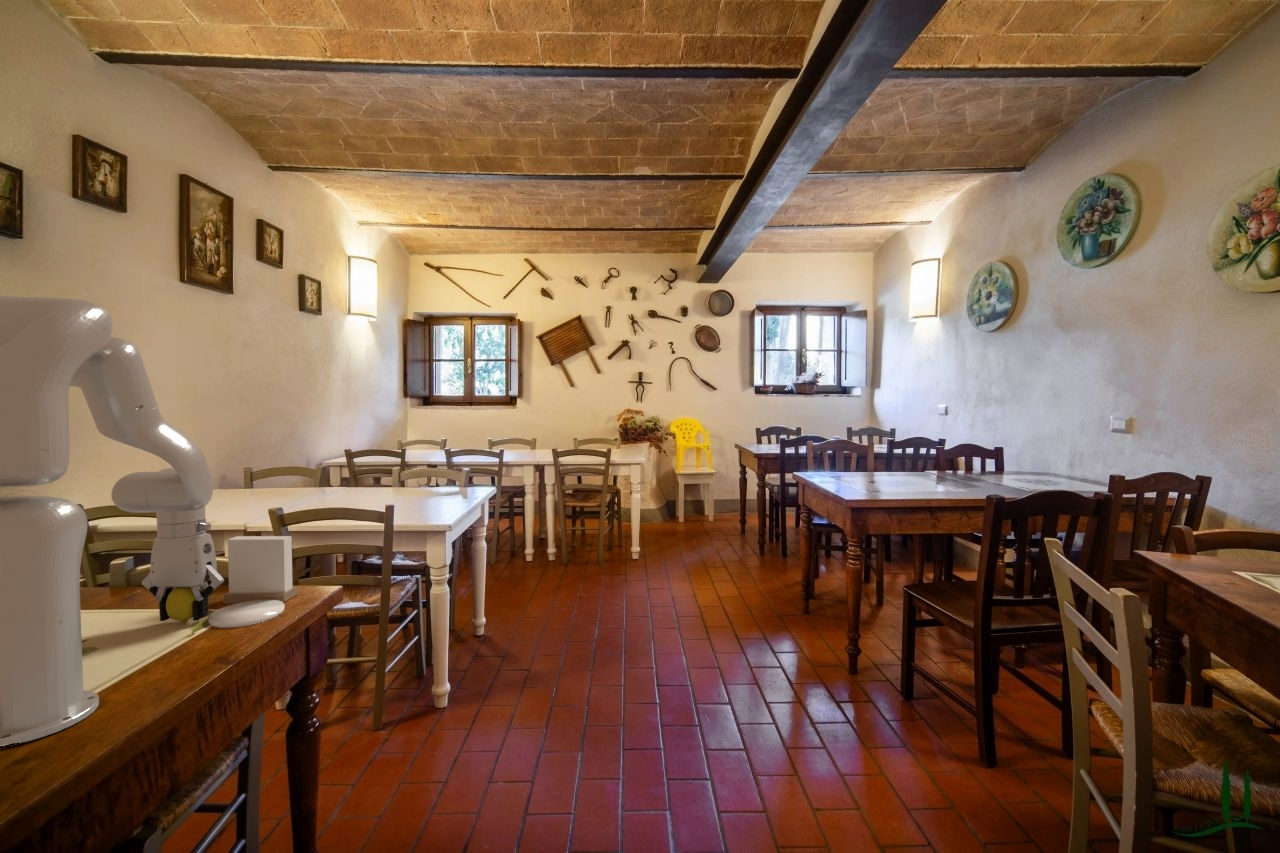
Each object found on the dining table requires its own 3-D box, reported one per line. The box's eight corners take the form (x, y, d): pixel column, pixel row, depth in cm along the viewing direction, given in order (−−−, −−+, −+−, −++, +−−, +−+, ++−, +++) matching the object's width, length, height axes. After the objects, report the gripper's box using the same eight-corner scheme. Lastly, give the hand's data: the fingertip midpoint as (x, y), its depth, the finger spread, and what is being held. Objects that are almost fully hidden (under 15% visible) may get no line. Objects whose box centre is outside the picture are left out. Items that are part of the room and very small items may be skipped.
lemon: (186, 628, 109) (185, 588, 108) (158, 628, 109) (157, 588, 108) (209, 617, 114) (208, 579, 114) (182, 617, 114) (181, 579, 114)
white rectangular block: (284, 603, 123) (283, 540, 122) (223, 603, 122) (222, 540, 122) (297, 595, 128) (296, 535, 127) (239, 595, 127) (237, 535, 127)
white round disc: (260, 627, 110) (260, 622, 110) (191, 628, 109) (191, 623, 109) (297, 603, 123) (297, 599, 123) (236, 604, 122) (236, 599, 122)
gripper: (239, 525, 115) (241, 610, 116) (152, 525, 114) (155, 611, 115) (213, 533, 107) (215, 625, 108) (120, 534, 106) (123, 626, 107)
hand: (184, 617), depth 111 cm, fingers closed on lemon, 5 cm apart
